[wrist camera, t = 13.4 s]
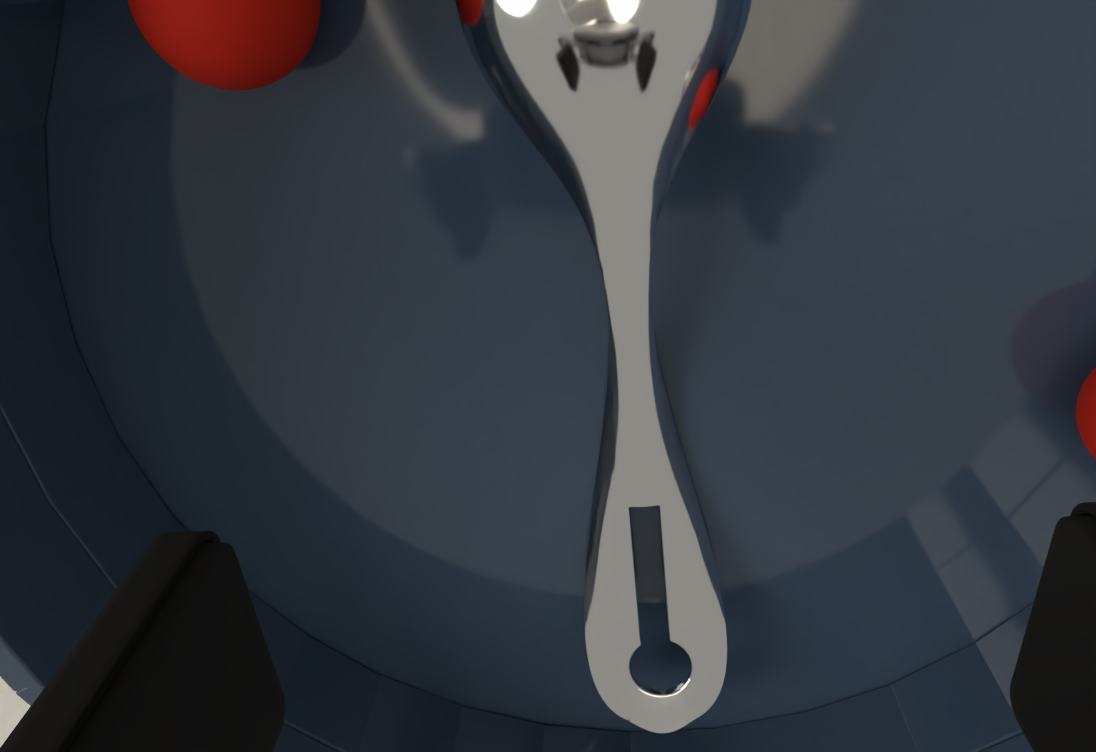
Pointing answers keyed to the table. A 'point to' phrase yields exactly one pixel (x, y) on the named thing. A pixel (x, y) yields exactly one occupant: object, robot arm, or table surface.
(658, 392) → the metal spoon
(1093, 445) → the tomato
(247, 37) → the tomato
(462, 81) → the bowl
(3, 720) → the table surface
